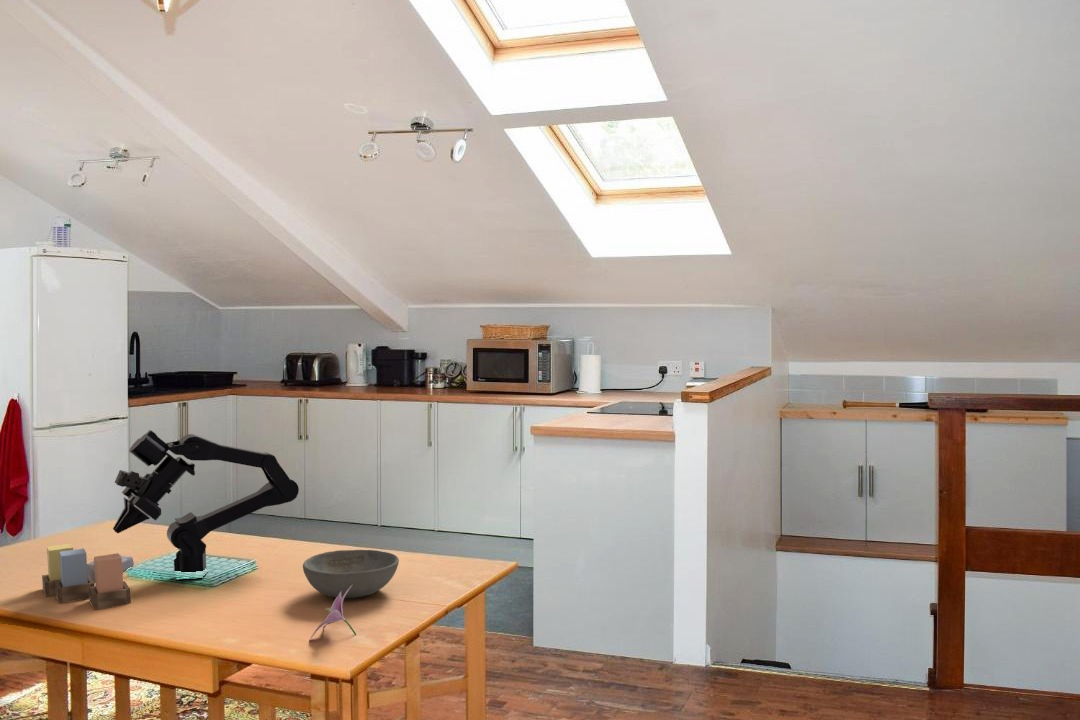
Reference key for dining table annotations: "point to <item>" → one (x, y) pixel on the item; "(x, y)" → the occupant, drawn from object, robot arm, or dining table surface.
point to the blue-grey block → (73, 567)
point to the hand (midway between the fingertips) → (115, 531)
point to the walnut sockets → (86, 593)
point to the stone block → (126, 564)
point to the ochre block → (55, 560)
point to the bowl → (350, 572)
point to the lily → (335, 613)
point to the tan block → (108, 573)
